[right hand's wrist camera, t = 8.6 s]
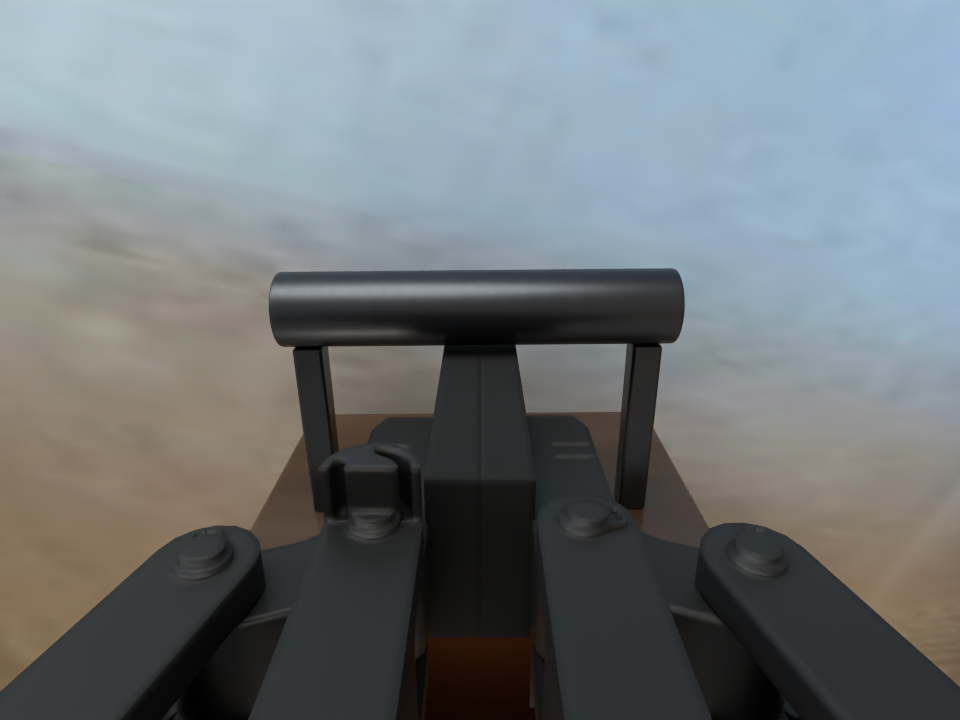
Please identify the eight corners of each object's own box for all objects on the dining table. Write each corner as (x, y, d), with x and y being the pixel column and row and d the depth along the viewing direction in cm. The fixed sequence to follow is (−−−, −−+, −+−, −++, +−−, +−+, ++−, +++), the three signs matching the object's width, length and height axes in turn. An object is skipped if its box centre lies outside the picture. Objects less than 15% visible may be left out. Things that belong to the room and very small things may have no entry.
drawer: (290, 231, 16) (171, 305, 10) (664, 227, 16) (780, 299, 10) (362, 815, 25) (324, 1048, 19) (603, 813, 25) (644, 1045, 19)
